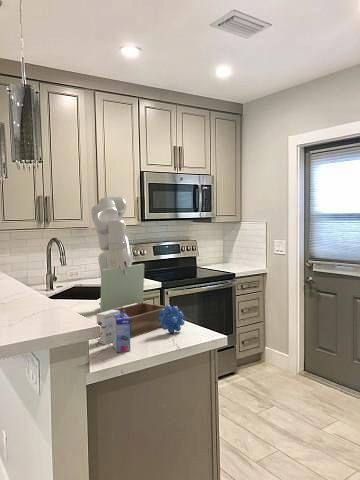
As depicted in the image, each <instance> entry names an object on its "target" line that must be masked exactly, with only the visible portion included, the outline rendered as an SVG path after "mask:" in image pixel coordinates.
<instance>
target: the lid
mask: <svg viewBox="0 0 360 480" xmlns="http://www.w3.org/2000/svg"><path fill="white" fill-rule="evenodd" d="M124 268H125V267H124ZM124 268H123V270H122V271H121V268H120V267H119V266H117V268H110V269H103V270H101V272H100V302H99V303H100V305H99V306H100V308H99V309H100V311H107V310H111V309H115V308H119V307H127V306H131V305H135V304H139V303H144V288H145V285H144V284H145V264H144V263H139V264H131V266H128V270H127V266H126V271H127V274H124ZM100 311H99V312H100Z"/></svg>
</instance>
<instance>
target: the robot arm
mask: <svg viewBox="0 0 360 480" xmlns="http://www.w3.org/2000/svg"><path fill="white" fill-rule="evenodd" d="M90 211H91V212H90V214H91V218H92V219H91V220H92V222H93V225H94V228H95V232H96V234H97V238H98V245H99V248H100V251H102V252H100V254H99V255H98V257H97V258H98V265H99V271H100V273H101V270H103V269H110V268H117V266H119V267H120V268H121V271H122V270H123V268H124V267H125V268H124V274H127V271H126V266H127V270H128V266H131V265H133V259H132V254H131V253H132V252H131V247H130V242H129V238H128V236H127V235H126V230H127V224H126V222H125V220H124V219H122V218H123V217H124V215H125V213H126V211H127V202H126V199H125V198H124V197H122V196H107V197H106V196H105V197H102V198H100V200H99V201H98V203H97V204H95V205H93V206H92V207H91V209H90ZM98 305H99V306H100V302H99V304H98ZM123 307H124V306H123ZM123 307H119V308H123ZM119 308H115V309H119ZM115 309H111V310H115ZM107 311H109V310H107ZM102 312H106V311H100V308H99V313H102Z"/></svg>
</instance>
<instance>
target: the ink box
mask: <svg viewBox="0 0 360 480" xmlns="http://www.w3.org/2000/svg"><path fill="white" fill-rule="evenodd" d="M113 314H120V311H119V310H109V311H106V312H99V313H96V314H95V315H96V325H97V324H98V325H100V326H101V338H100V339H98V338H97V343H98V342H99V344H102V345H109V344H111V343H112V344H113Z"/></svg>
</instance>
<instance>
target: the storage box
mask: <svg viewBox="0 0 360 480" xmlns="http://www.w3.org/2000/svg"><path fill="white" fill-rule="evenodd" d="M165 306H166V305H160V304H155V303H147V302H139V303H135V304H131V305H127V306H123V308H119V309H115V310H119V311H120V314H121V313H122V311H123V309H125V313H126V315H127V316H128V317H129V318H130V339H131V338H133V337H134V338H135V337H138V336H140V335H143V334H146V333H150V332H152V331H155V330H159V329H162V327H161V324H162V323H160V322H159V320H158V317H159V316H162V315H160V310H161V309H165ZM123 313H124V311H123ZM158 328H159V329H158Z"/></svg>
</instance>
